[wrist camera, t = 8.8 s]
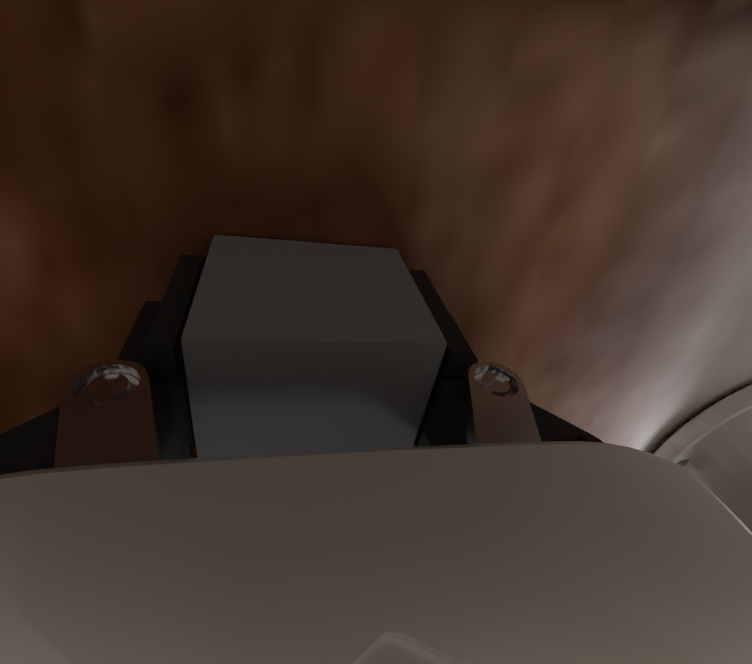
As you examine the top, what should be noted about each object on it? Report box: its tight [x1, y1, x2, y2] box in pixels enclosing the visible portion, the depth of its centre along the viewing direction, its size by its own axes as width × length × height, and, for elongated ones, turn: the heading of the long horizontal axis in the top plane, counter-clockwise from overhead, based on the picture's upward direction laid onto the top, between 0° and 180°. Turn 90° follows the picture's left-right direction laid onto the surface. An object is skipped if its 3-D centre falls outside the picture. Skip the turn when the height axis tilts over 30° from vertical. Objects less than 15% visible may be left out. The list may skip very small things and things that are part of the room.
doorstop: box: [181, 235, 447, 458], centre depth 13 cm, size 5×14×4 cm, turn 170°
